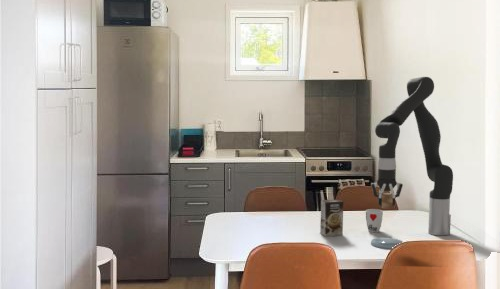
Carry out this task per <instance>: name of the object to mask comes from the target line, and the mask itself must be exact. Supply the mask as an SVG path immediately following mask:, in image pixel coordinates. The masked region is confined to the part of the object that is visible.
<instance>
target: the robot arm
mask: <svg viewBox="0 0 500 289" xmlns="http://www.w3.org/2000/svg"><path fill="white" fill-rule="evenodd" d="M434 89H435V83H434V80H433V79H432V78H431V77H429V76H421V77H415V78H410V79H409V80H408V81H407V83H406V91H407V95H408V97H407V98H405V99H404V100H402V101H401V102H400V103H399V104H397V105H396V106H395V107H394V109H392V111H391V112H390V114H389V115H387V116H385V117H384V118H382V119H381V120H380V121H379V122H377V124H376V127H375V128H374V129H375V130H374V133H375V135H376V137H378V138H379V139H387V140H386V143H382V144H379V146H378V162H377V163H378V164H377V181H376V182H371V183H370V187H371V190H372V194H373V196H374V197H375V198H377V205H378V206H379V207H380V208H381V207H382V198H381V197H382V194H383V193H385V192H389V193H391V194H392V195H393V205H392V208H393V207H394V206H395V205H396V198H398V197H400V195H401V192H402V188H403V185H404V184H403V183H402V182H397V177H396V176H397V175H396V174H397V172H396V171H397V161H396V148H397V145H398V141H399V138H400V133H401V129H400V126H402V125H403V124H404V123H405V122H406V120H407V119H408V118H409V117H410V115H411V114H413V113H414V116H415V120H416V124H417V129H418V130H417V131H418V133H419V134H418V135H419V138H420V141H421V145H422V150H423V153H424V154H423V155H424V160H425V167H426V173H427V177H428V179H429V180H430V181H431V182H433V189H432V190H430V191H429V200H428V201H429V202H428V203H429V205H428V227H427V228H428V230H427V231H428V234H430V235H433V236H447V235H448V236H450V235H451V222H452V220H451V216H452V215H451V214H450V207H451V206H450V205H451V194H452V191H453V184H454V183H453V182H454V173H453V169H452V168H451V167H450V166H449V165H446V164H443V162H442V160H441V156H440V145H441V139H442V138H441V136H442V134H441V130H440V126H439V123H438V120H437V119H436V118H435V116H434V115H433V114H432V113H431V112H430V111H429V109H428V108H427V107H426V105H425V102H424V101H425V100H426V99H428V98H429V97H431V95H432V94H433V92H434V91H435V90H434ZM377 186H378V187H379V190H378V193H377V190H376V189H377ZM395 187H396V188H397V190H396V192H395V191H394V188H395Z"/></svg>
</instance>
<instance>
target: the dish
mask: <svg viewBox="0 0 500 289" xmlns="http://www.w3.org/2000/svg"><path fill="white" fill-rule="evenodd" d="M402 242H404V241H403V240H401V239H398V238H392V237H375V238H372V239H371V241H370V245H371V246H373V247H375V248H379V249H385V250H392V249H391V248H392V247H394V246H395V245H397V244H399V243H402Z"/></svg>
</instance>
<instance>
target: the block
mask: <svg viewBox="0 0 500 289" xmlns="http://www.w3.org/2000/svg"><path fill="white" fill-rule="evenodd" d="M381 198H382V207H380V208H381V209H387V210H388V209H391V210H392V209H393V207H392V205H393V195H392V194H391V193H390V192H383V194H382V197H381ZM393 206H394V205H393Z"/></svg>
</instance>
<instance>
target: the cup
mask: <svg viewBox="0 0 500 289" xmlns="http://www.w3.org/2000/svg"><path fill="white" fill-rule="evenodd" d="M383 212H384V211H383V210H382V209H378V208H370V209H369V208H368V209H365V220H366V221H365V222H366V226H367V230H368V232H369V233H379V232H380V230H381V228H382V222H383Z"/></svg>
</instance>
